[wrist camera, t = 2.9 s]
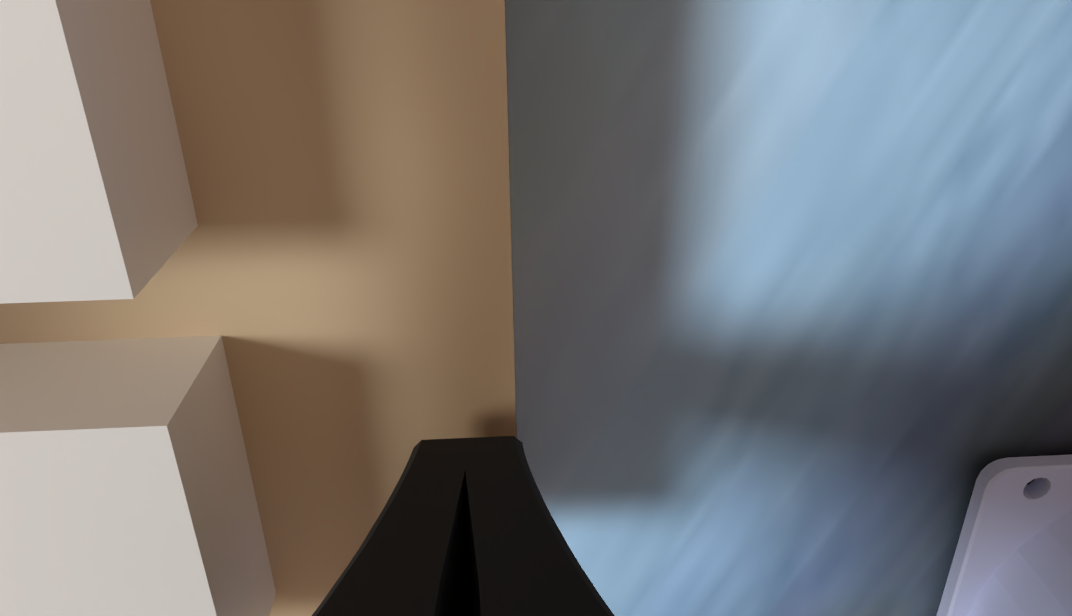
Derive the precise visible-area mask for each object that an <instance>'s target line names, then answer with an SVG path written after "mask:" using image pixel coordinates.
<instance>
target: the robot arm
mask: <svg viewBox="0 0 1072 616" xmlns="http://www.w3.org/2000/svg"><path fill="white" fill-rule="evenodd" d="M1033 479H1035V480H1034V481H1033V482H1031V483H1030V484H1028V485H1027V483H1029V482H1030V481H1032V480H1033ZM312 616H614V614H613V613H612V612H611V610H610V609H609V607H608V606H607V605H606V603H605V602H604V600H603V599H602V598H601V596H600V595H599V593H598V592H597V590H596V589H595V587H594V586H593V584H592V583H591V581H590V580H589V578H588V577H587V575H586V574H585V572H584V571H583V569H582V568H581V566H580V564H579V563H578V561H577V560H576V558H575V556H574V555H573V553H572V551H571V550H570V548H569V546H568V545H567V543H566V541H565V539H564V537H563V536H562V534H561V532H560V530H559V529H558V527H557V525H556V523H555V521H554V520H553V518H552V516H551V514H550V512H549V510H548V508H547V506H546V504H545V502H544V500H543V498H542V496H541V494H540V492H539V490H538V487H537V485H536V483H535V481H534V478H533V476H532V473H531V471H530V468H529V466H528V463H527V460H526V457H525V453H524V450H523V445H522V442H521V441H519V440H518V439H517V438H516V437H515V436H498V437H474V438H451V439H428V440H421V441H420V442H419V443H418V444H417V445H416V446H415V447H414V448H413V451H412V453H411V456H410V458H409V460H408V462H407V464H406V467H405V469H404V471H403V473H402V475H401V477H400V479H399V481H398V483H397V485H396V487H395V488H394V490H393V492H392V494H391V496H390V498H389V499H388V501H387V503H386V505H385V507H384V508H383V510H382V512H381V513H380V515H379V517H378V518H377V520H376V522H375V523H374V525H373V527H372V528H371V530H370V531H369V533H368V535H367V536H366V538H365V540H364V541H363V543H362V545H361V546H360V548H359V549H358V551H357V552H356V554H355V555H354V557H353V558H352V560H351V561H350V563H349V564H348V566H347V567H346V568H345V570H344V571H343V573H342V574H341V576H340V577H339V578H338V580H337V581H336V583H335V584H334V585H333V587H332V588H331V590H330V591H329V593H328V594H327V595H326V597H325V598H324V600H323V601H322V603H321V604H320V605H319V607H318V608H317V609H316V611H315V612H314V613H313V614H312ZM937 616H1072V455H1051V456H1030V457H1008V458H1003V459H998V460H995V461H993V462H991V463H989V464H988V465H987V466H986V467H985V468H983V469H982V470H981V472H980V474H979V476H978V477H977V479H976V483H975V486H974V489H973V493H972V496H971V500H970V503H969V507H968V510H967V513H966V517H965V520H964V524H963V527H962V530H961V534H960V537H959V541H958V544H957V548H956V551H955V554H954V558H953V561H952V565H951V568H950V571H949V575H948V578H947V582H946V585H945V588H944V592H943V595H942V599H941V602H940V606H939V609H938V612H937Z"/></svg>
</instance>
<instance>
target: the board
mask: <svg viewBox="0 0 1072 616" xmlns="http://www.w3.org/2000/svg"><path fill="white" fill-rule="evenodd" d="M150 3H151V7H152V12H153V17H154V21H155V26H156V31H157V35H158V40H159V45H160V50H161V54H162V59H163V64H164V68H165V73H166V78H167V83H168V87H169V92H170V97H171V101H172V106H173V111H174V115H175V120H176V125H177V130H178V134H179V139H180V144H181V148H182V153H183V158H184V162H185V167H186V172H187V177H188V181H189V186H190V191H191V195H192V200H193V205H194V209H195V214H196V219H197V224H198V226H197V227H196V229H195V230H194V231H193V232H192V233H191V234H190V235H189V237H188V238H187V239H186V240H185V241H184V242H183V243H182V245H181V246H180V247H179V248H178V249H177V250H176V251H175V252H174V254H173V255H172V256H171V257H170V258H169V259H168V260H167V262H166V263H165V264H164V265H163V266H162V267H161V268H160V270H159V271H158V272H157V273H156V274H155V275H154V276H153V278H152V279H151V280H150V281H149V282H148V283H147V284H146V286H145V287H144V288H143V289H142V290H141V291H140V292H139V293H138V295H137V296H136V297H135V298H134V299H119V300H91V301H62V302H33V303H5V304H0V344H7V343H33V342H60V341H87V340H114V339H141V338H168V337H195V336H222V341H223V346H224V351H225V355H226V360H227V365H228V369H229V374H230V379H231V383H232V388H233V393H234V398H235V402H236V407H237V412H238V416H239V421H240V426H241V430H242V435H243V440H244V445H245V449H246V454H247V459H248V463H249V468H250V473H251V477H252V482H253V487H254V492H255V496H256V501H257V506H258V510H259V515H260V520H261V524H262V529H263V534H264V539H265V543H266V548H267V553H268V557H269V562H270V567H271V571H272V576H273V581H274V586H275V590H276V595H275V598H274V602H273V605H272V608H271V612H270V615H269V616H312V614H313V613H314V612H315V611H316V609H317V608H318V607H319V605H320V604H321V603H322V601H323V600H324V598H325V597H326V595H327V594H328V593H329V591H330V590H331V588H332V587H333V585H334V584H335V583H336V581H337V580H338V578H339V577H340V576H341V574H342V573H343V571H344V570H345V568H346V567H347V566H348V564H349V563H350V561H351V560H352V558H353V557H354V555H355V554H356V552H357V551H358V549H359V548H360V546H361V545H362V543H363V541H364V540H365V538H366V536H367V535H368V533H369V531H370V530H371V528H372V527H373V525H374V523H375V522H376V520H377V518H378V517H379V515H380V513H381V512H382V510H383V508H384V507H385V505H386V503H387V501H388V499H389V498H390V496H391V494H392V492H393V490H394V488H395V487H396V485H397V483H398V481H399V479H400V477H401V475H402V473H403V471H404V469H405V467H406V464H407V462H408V460H409V458H410V456H411V453H412V451H413V448H414V447H415V446H416V445H417V444H418V443H419V442H420V441H421V440H428V439H451V438H474V437H498V436H515V437H516V438H517V435H516V398H515V361H514V324H513V287H512V251H511V214H510V177H509V140H508V103H507V67H506V30H505V0H150Z"/></svg>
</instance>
